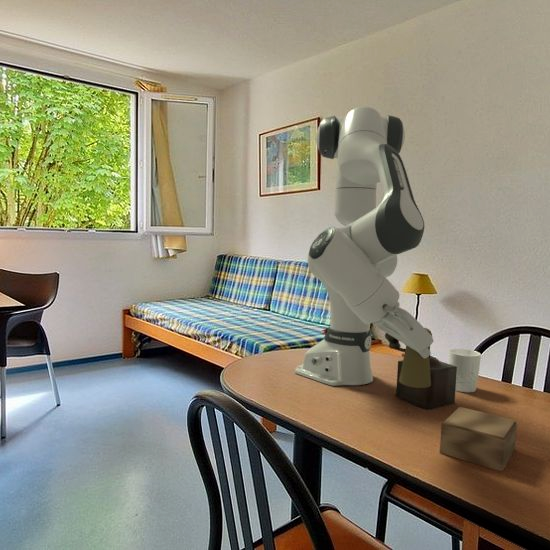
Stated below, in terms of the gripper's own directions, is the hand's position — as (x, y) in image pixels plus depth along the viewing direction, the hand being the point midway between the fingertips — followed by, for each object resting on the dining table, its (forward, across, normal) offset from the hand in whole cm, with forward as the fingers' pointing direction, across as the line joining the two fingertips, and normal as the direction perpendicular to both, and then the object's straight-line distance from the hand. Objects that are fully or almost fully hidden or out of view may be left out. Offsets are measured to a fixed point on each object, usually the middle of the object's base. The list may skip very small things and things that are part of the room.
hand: (420, 351), depth 92 cm
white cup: (+34, +30, -6) cm, 45 cm away
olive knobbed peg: (+4, 0, +5) cm, 6 cm away
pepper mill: (+21, +22, +6) cm, 31 cm away
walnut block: (+21, -5, +5) cm, 22 cm away
